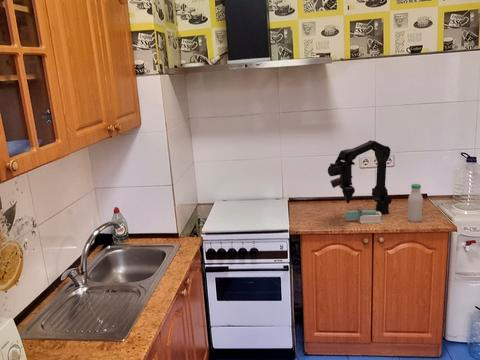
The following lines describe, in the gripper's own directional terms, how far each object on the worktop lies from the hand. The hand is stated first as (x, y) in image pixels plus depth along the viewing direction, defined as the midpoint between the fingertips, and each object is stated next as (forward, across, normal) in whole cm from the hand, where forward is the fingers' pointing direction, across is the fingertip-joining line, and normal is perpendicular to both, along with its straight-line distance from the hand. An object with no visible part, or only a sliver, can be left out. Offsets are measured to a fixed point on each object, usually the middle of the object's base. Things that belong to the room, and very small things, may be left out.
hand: (346, 200), depth 234 cm
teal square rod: (+11, 0, +8) cm, 13 cm away
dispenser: (+12, 0, +13) cm, 17 cm away
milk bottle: (+12, +1, +37) cm, 39 cm away
